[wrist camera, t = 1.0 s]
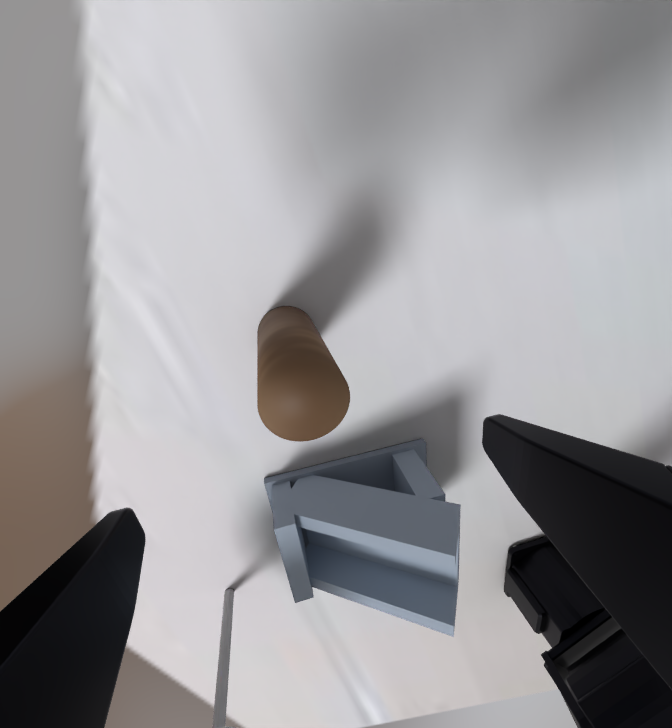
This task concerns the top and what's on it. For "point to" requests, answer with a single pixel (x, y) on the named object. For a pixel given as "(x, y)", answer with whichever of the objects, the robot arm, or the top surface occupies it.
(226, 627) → the lollipop
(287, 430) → the peg
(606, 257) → the top surface
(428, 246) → the top surface
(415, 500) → the cradle
